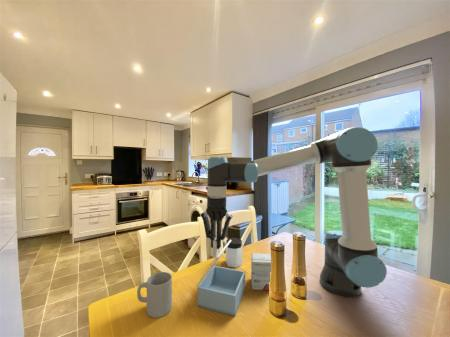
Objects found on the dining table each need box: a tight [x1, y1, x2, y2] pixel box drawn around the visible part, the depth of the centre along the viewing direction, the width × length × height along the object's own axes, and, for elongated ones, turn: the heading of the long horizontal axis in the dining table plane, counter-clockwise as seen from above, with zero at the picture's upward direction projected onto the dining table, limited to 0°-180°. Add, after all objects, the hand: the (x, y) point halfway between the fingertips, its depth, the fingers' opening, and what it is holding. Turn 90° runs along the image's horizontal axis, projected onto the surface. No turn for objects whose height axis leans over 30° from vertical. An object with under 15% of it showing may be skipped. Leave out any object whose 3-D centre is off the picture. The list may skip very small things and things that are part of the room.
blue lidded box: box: [197, 265, 246, 317], centre depth 75 cm, size 14×16×7 cm
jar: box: [225, 237, 243, 268], centre depth 101 cm, size 9×8×12 cm
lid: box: [196, 240, 232, 288], centre depth 76 cm, size 14×16×1 cm
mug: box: [136, 271, 173, 319], centre depth 68 cm, size 12×8×11 cm
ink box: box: [250, 252, 272, 291], centre depth 83 cm, size 9×9×12 cm
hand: (215, 256), depth 76 cm, fingers closed
